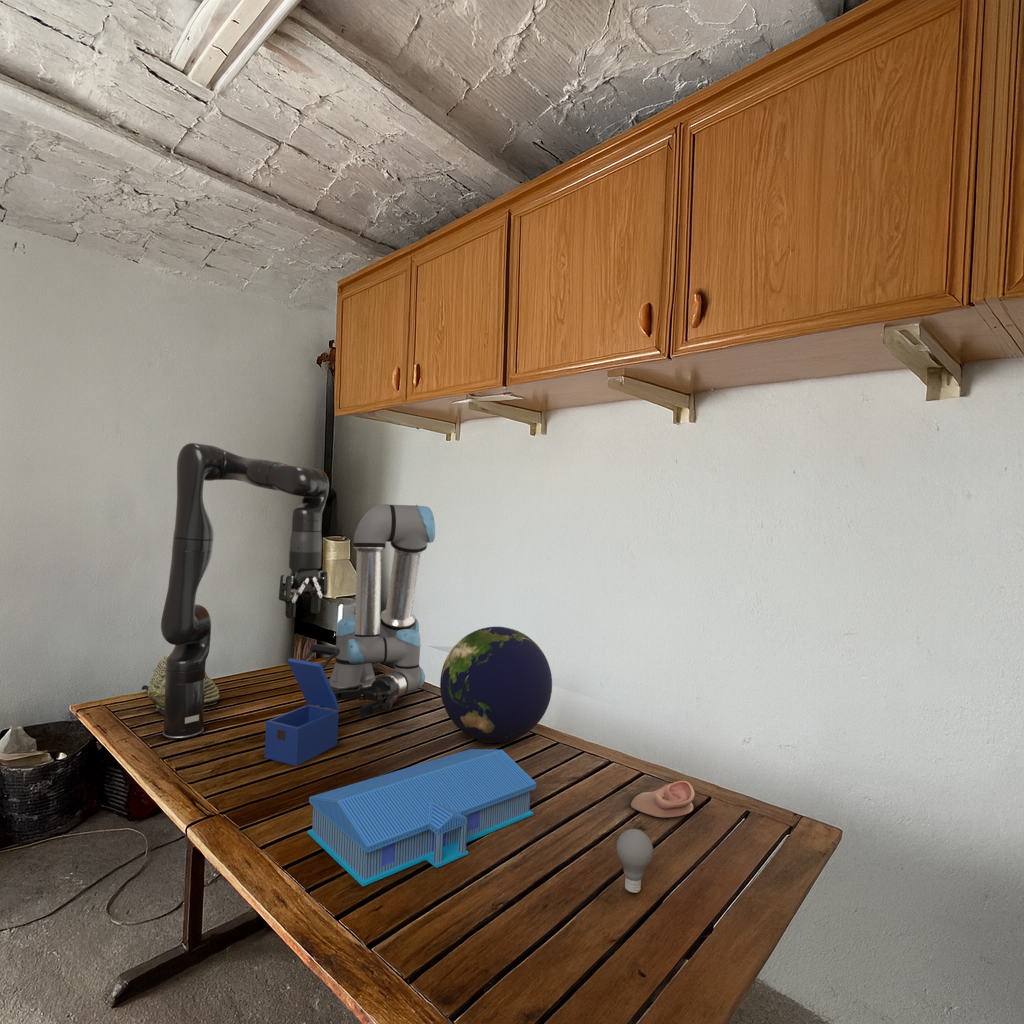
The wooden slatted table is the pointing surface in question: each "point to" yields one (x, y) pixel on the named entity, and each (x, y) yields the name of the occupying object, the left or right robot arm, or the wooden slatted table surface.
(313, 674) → the lid
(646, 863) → the light bulb
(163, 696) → the fossil
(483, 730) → the globe
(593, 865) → the wooden slatted table surface
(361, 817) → the model building
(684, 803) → the anatomical model
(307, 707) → the chest
